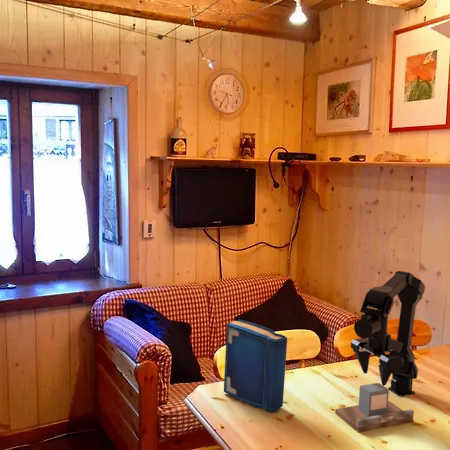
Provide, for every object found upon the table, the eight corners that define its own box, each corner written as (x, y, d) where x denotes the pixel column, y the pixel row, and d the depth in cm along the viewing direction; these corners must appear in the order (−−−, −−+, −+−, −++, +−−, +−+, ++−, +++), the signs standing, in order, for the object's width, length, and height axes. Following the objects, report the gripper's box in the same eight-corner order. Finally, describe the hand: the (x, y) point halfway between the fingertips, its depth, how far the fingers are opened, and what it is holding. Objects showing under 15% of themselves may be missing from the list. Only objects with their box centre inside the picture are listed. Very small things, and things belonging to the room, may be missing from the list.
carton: (358, 410, 162) (359, 385, 161) (377, 406, 164) (378, 382, 163) (368, 417, 157) (370, 392, 156) (387, 414, 160) (389, 389, 159)
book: (287, 409, 165) (290, 333, 162) (273, 416, 159) (276, 338, 156) (236, 387, 179) (238, 317, 176) (222, 394, 174) (224, 322, 171)
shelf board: (387, 404, 170) (388, 394, 169) (413, 421, 158) (414, 411, 158) (335, 413, 162) (335, 402, 162) (358, 432, 151) (358, 421, 151)
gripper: (419, 337, 153) (416, 388, 155) (379, 319, 170) (376, 364, 172) (389, 341, 149) (385, 393, 151) (351, 322, 166) (348, 368, 168)
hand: (374, 379), depth 161 cm, fingers open, 9 cm apart
